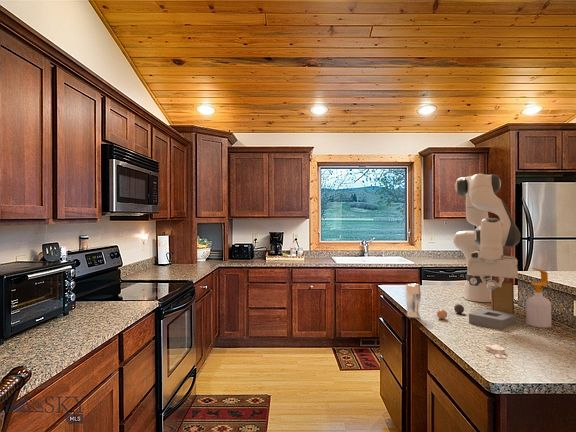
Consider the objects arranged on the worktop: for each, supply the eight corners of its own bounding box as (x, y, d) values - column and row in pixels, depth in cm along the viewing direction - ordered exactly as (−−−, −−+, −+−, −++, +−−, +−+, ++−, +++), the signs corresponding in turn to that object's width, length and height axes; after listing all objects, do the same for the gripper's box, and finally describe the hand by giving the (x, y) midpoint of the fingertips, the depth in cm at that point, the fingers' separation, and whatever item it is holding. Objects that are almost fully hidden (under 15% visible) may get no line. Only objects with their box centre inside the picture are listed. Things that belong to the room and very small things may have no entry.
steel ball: (488, 288, 171) (488, 278, 171) (499, 289, 168) (499, 279, 168) (484, 289, 168) (484, 279, 168) (495, 291, 165) (494, 281, 165)
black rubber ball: (457, 311, 189) (456, 302, 189) (465, 313, 186) (465, 304, 186) (452, 313, 186) (452, 304, 186) (461, 315, 183) (461, 305, 183)
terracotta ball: (440, 317, 179) (439, 307, 179) (449, 319, 175) (448, 309, 175) (435, 318, 176) (434, 309, 176) (444, 320, 173) (443, 311, 173)
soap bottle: (521, 322, 169) (521, 266, 170) (542, 322, 169) (542, 266, 169) (534, 328, 160) (533, 269, 161) (556, 328, 160) (555, 269, 160)
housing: (483, 317, 178) (483, 308, 178) (516, 323, 167) (516, 314, 167) (468, 322, 169) (468, 313, 169) (502, 329, 158) (502, 320, 158)
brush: (476, 352, 134) (476, 346, 134) (492, 348, 138) (492, 342, 138) (501, 361, 126) (501, 354, 126) (518, 356, 130) (517, 350, 130)
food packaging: (490, 311, 190) (490, 260, 190) (512, 313, 186) (512, 261, 186) (491, 317, 178) (491, 263, 178) (515, 319, 174) (514, 264, 174)
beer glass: (405, 317, 178) (405, 285, 179) (406, 314, 185) (405, 283, 185) (421, 319, 176) (420, 286, 176) (421, 315, 183) (421, 284, 183)
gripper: (520, 255, 162) (520, 288, 162) (472, 252, 178) (472, 282, 178) (514, 257, 158) (514, 290, 158) (465, 253, 174) (465, 284, 174)
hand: (491, 286), depth 168 cm, fingers closed on steel ball, 4 cm apart
